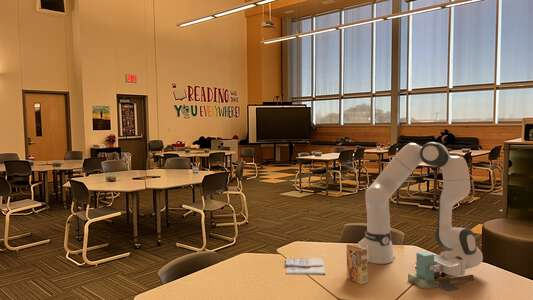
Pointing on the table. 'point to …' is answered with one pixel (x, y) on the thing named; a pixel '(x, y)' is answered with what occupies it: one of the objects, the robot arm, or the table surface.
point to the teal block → (425, 266)
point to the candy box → (357, 263)
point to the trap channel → (447, 287)
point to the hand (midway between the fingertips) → (423, 265)
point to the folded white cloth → (305, 262)
